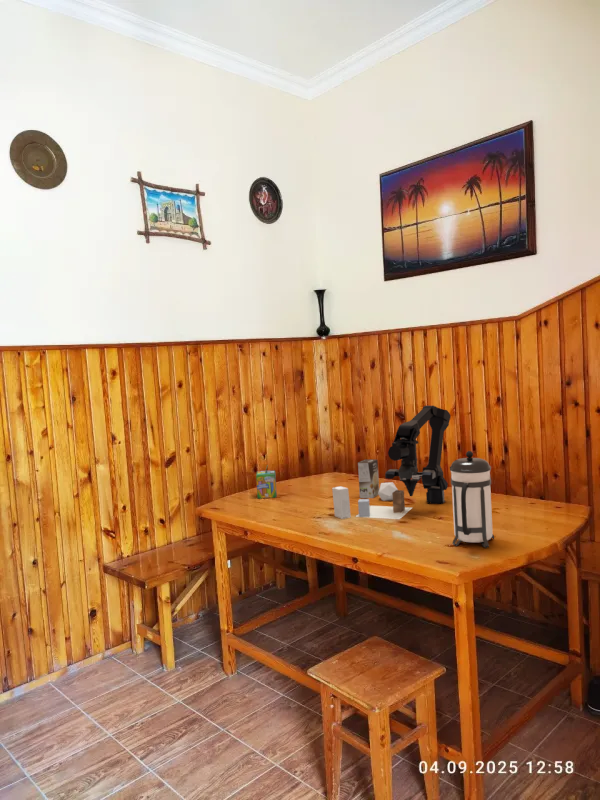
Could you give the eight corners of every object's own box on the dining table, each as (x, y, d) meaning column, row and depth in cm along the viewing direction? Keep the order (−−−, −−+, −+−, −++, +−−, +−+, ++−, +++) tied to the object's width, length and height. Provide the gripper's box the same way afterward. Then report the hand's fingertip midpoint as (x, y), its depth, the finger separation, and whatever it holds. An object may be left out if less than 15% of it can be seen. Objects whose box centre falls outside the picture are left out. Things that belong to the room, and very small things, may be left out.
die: (393, 505, 254) (403, 485, 257) (375, 495, 255) (384, 475, 258) (390, 507, 262) (400, 488, 265) (373, 498, 263) (382, 479, 266)
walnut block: (404, 510, 240) (403, 490, 240) (401, 513, 236) (400, 493, 235) (397, 509, 242) (396, 490, 241) (393, 512, 237) (392, 492, 237)
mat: (412, 509, 243) (412, 507, 243) (399, 520, 227) (399, 519, 227) (370, 506, 251) (370, 505, 251) (355, 518, 235) (355, 516, 235)
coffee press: (439, 539, 201) (434, 450, 200) (482, 533, 205) (478, 446, 203) (464, 554, 185) (460, 457, 183) (511, 547, 188) (507, 452, 186)
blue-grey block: (370, 514, 238) (369, 499, 237) (369, 516, 234) (368, 501, 233) (359, 514, 238) (359, 499, 238) (358, 516, 234) (358, 501, 234)
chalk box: (257, 494, 289) (255, 464, 288) (276, 493, 289) (274, 463, 288) (257, 499, 280) (254, 467, 279) (276, 497, 280) (274, 466, 279)
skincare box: (351, 518, 235) (349, 488, 234) (341, 520, 233) (339, 489, 232) (343, 515, 240) (341, 485, 239) (333, 517, 238) (331, 487, 238)
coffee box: (372, 498, 266) (370, 462, 265) (359, 498, 269) (357, 462, 268) (379, 494, 274) (377, 459, 273) (366, 493, 277) (364, 459, 276)
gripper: (379, 459, 232) (382, 499, 233) (427, 460, 224) (430, 501, 225) (388, 455, 242) (390, 493, 243) (434, 455, 234) (436, 495, 235)
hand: (411, 496), depth 236 cm, fingers closed
